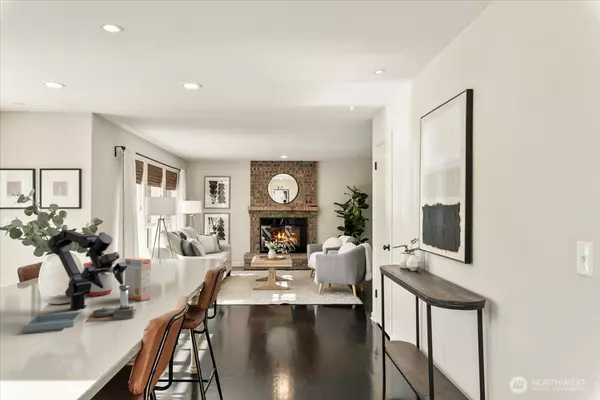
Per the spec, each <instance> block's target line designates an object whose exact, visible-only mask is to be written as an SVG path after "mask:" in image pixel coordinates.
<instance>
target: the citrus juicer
mask: <svg viewBox="0 0 600 400" xmlns="http://www.w3.org/2000/svg"><path fill="white" fill-rule="evenodd" d="M91 264H92V261H89V262H84V263H82V265H83V271H84V269H85V268H86V267H91V266H92V265H91ZM115 265H116V262H115V261H114V262H113V264H112V265H111V267H115ZM83 271H82V272H83ZM114 275H115V274H113V272H107V273H98V276H99V278H100V280H101V282H102V284H103V288H102V289H101V288H100V287H98V286H97V285H95V284H93V283H91V289H90V293H89V294H86V295H87V296H91V297H93V296H94V297H98V296H97V295H99V296H104V295H110V294H111V292H112V290H113V287H114V283H115V277H114Z"/></svg>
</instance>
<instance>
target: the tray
mask: <svg viewBox="0 0 600 400" xmlns="http://www.w3.org/2000/svg"><path fill="white" fill-rule="evenodd" d="M81 318H82V312H81V311H79V312H77V311H75V312H68V313H67V312H66V313H65V312H63V313H52V314H51V313H50V314H40V315H38V314H37V315H35V316H33V318H32V319H30V320H29V321H28V322H27V323H26V324H24V325H23V327H24V328H23V329H24V330H23V334H24V335H25V334H35V333H36V334H37V333H47V332H56V331H57V332H58V331H63V330H64V329H65V328H74V326H75V325H76V324H77V323H78V322H79V320H80V319H81Z"/></svg>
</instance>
